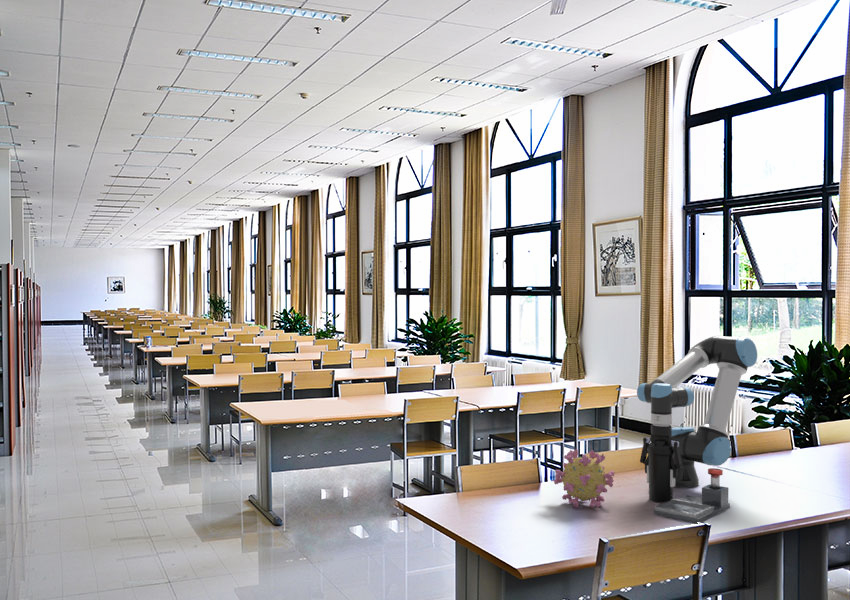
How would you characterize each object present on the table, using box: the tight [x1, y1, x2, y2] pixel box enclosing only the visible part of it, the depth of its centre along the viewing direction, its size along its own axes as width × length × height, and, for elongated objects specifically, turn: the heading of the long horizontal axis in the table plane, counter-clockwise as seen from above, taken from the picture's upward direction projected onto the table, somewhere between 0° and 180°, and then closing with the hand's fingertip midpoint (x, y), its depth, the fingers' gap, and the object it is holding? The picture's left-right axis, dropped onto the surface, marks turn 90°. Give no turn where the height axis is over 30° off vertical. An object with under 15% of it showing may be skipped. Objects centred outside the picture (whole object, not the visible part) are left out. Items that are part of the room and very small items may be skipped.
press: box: [653, 483, 731, 524], centre depth 275 cm, size 16×28×8 cm, turn 138°
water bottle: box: [647, 440, 675, 504], centre depth 289 cm, size 10×10×23 cm
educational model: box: [552, 448, 616, 509], centre depth 281 cm, size 23×22×20 cm
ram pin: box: [707, 467, 724, 490], centre depth 279 cm, size 5×5×8 cm
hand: (660, 484), depth 289 cm, fingers closed on water bottle, 9 cm apart
